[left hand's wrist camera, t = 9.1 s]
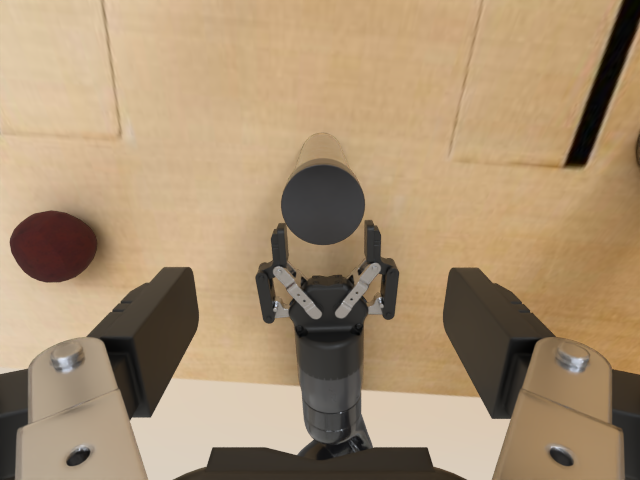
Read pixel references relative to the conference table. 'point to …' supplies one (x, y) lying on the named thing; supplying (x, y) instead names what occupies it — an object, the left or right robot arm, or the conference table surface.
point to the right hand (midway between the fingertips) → (325, 223)
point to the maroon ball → (53, 246)
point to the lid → (322, 202)
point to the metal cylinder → (321, 149)
